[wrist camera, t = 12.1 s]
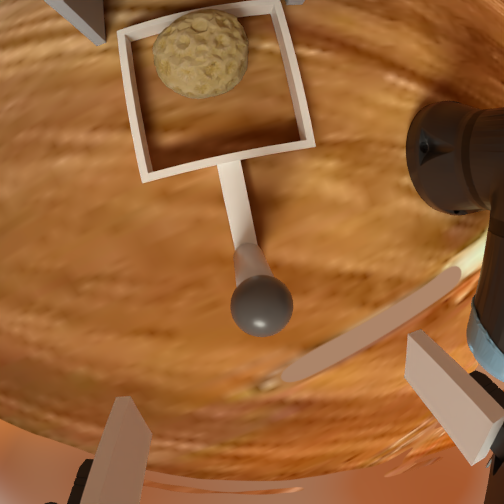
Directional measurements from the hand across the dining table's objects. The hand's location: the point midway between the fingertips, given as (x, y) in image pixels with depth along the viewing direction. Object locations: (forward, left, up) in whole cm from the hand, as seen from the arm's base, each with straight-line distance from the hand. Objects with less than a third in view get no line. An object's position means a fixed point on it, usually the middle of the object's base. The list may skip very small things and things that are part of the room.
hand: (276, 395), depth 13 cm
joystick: (+11, -7, -23) cm, 26 cm away
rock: (+19, -11, -23) cm, 32 cm away
